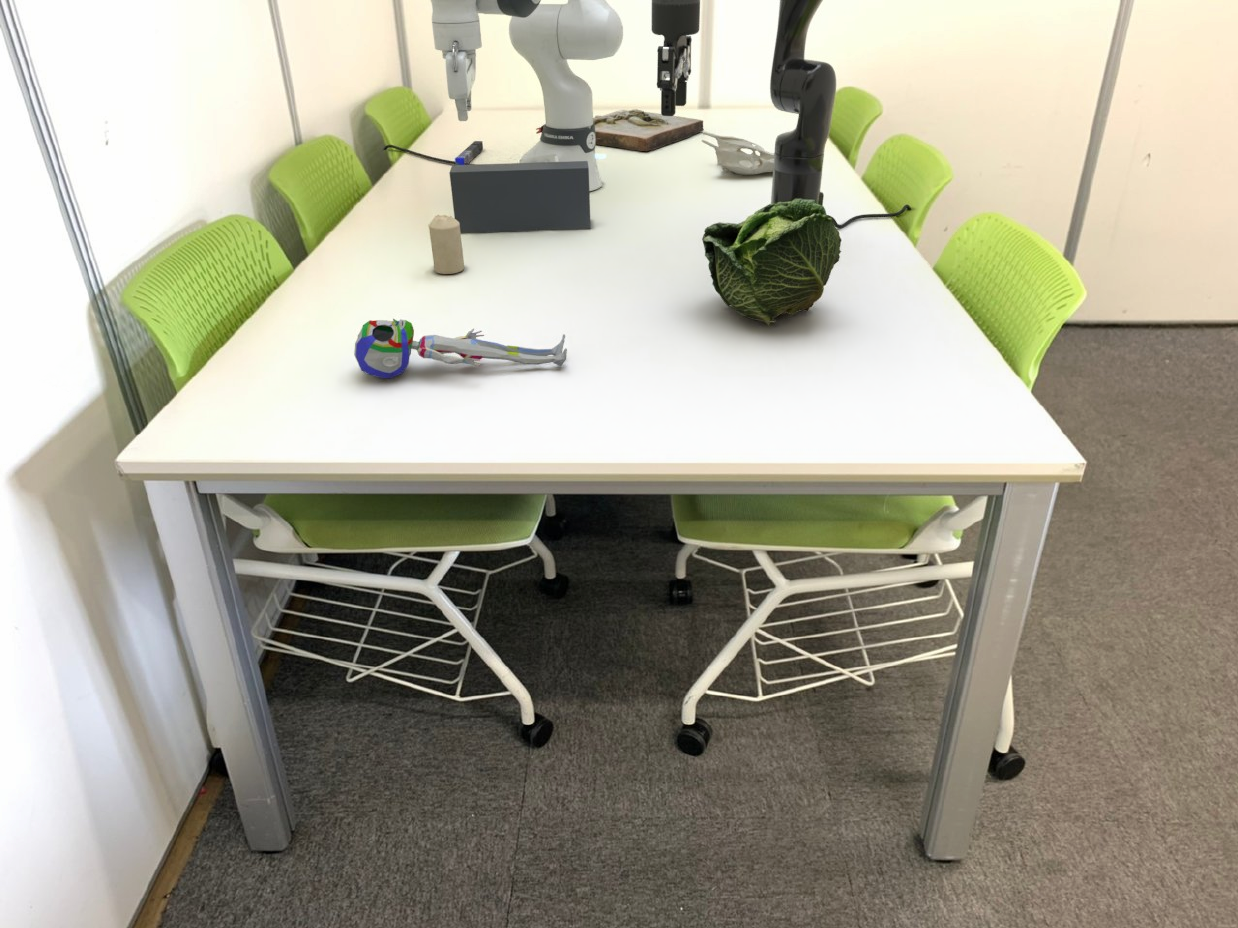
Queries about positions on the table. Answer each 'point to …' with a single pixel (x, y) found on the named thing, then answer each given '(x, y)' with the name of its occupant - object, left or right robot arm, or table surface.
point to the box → (521, 196)
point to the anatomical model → (741, 155)
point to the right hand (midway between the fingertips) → (674, 110)
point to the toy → (435, 349)
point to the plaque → (643, 129)
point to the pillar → (469, 153)
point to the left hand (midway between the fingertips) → (465, 115)
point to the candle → (446, 244)
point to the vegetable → (773, 259)
